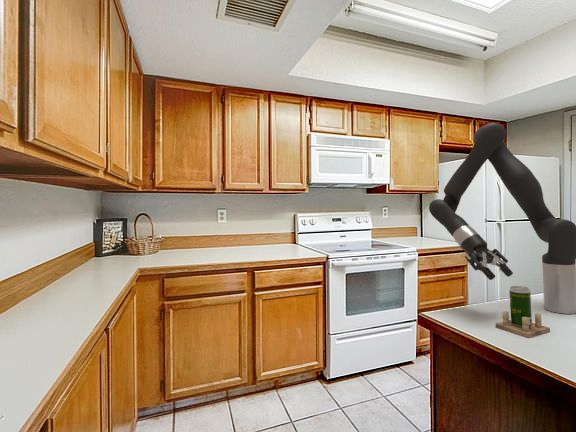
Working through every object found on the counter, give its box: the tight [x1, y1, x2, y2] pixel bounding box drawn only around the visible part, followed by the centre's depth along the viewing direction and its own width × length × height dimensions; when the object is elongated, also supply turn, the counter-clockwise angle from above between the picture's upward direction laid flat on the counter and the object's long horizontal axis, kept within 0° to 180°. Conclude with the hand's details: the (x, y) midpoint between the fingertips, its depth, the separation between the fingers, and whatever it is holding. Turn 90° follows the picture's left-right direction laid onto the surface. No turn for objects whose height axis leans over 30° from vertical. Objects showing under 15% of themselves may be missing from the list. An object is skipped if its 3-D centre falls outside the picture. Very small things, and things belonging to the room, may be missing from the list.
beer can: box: [509, 285, 533, 328], centre depth 100 cm, size 5×5×12 cm
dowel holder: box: [495, 310, 551, 339], centre depth 100 cm, size 10×10×5 cm
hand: (502, 276), depth 105 cm, fingers open, 8 cm apart
